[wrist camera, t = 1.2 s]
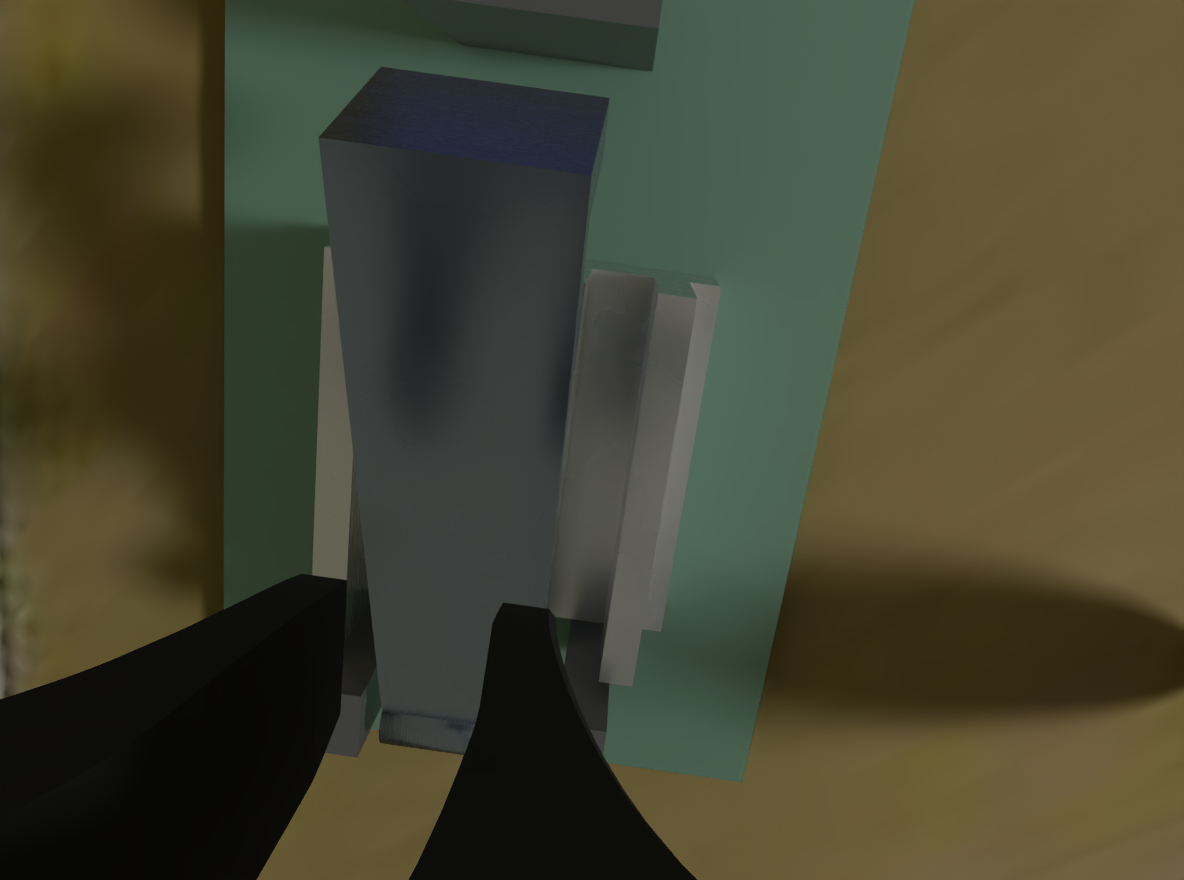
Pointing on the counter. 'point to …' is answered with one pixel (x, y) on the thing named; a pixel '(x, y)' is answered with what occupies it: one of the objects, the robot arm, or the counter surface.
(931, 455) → the counter surface
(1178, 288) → the counter surface
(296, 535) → the motherboard
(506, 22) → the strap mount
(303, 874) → the counter surface
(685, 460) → the heat sink
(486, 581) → the metal bar
